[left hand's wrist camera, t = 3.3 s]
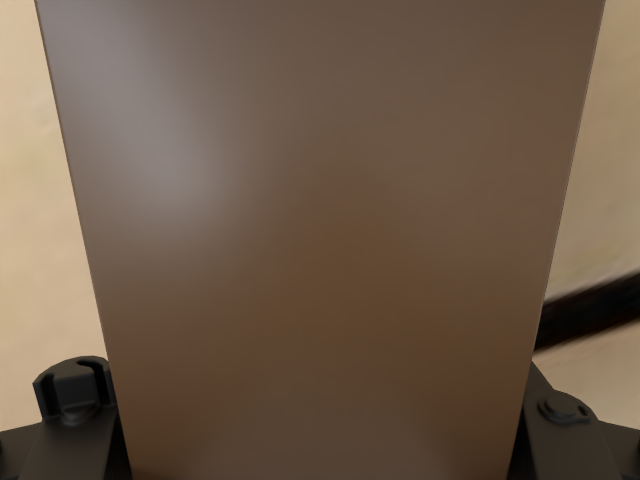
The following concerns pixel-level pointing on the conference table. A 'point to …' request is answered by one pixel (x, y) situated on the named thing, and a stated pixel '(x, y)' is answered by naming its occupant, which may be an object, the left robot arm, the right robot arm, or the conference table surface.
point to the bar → (319, 223)
